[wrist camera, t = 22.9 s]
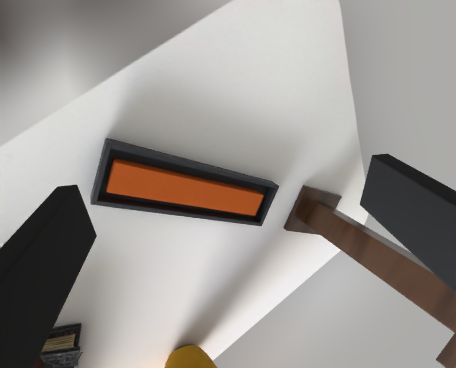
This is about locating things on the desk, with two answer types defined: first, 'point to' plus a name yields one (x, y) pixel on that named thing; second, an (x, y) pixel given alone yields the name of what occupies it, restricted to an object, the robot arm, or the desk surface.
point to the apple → (189, 358)
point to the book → (61, 348)
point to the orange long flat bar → (180, 188)
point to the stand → (377, 258)
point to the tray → (182, 166)
